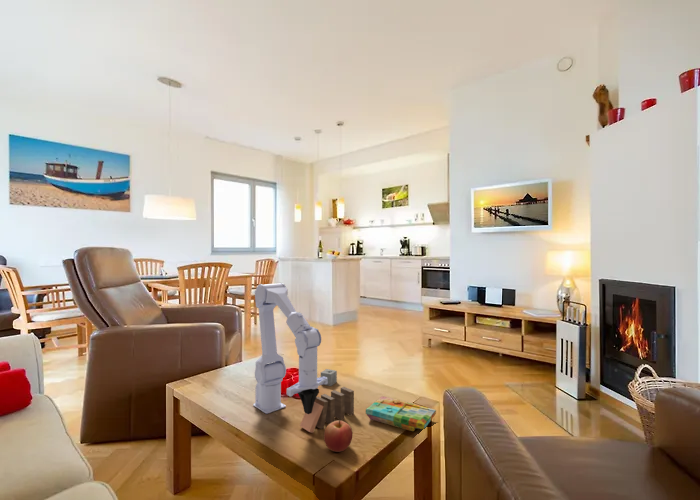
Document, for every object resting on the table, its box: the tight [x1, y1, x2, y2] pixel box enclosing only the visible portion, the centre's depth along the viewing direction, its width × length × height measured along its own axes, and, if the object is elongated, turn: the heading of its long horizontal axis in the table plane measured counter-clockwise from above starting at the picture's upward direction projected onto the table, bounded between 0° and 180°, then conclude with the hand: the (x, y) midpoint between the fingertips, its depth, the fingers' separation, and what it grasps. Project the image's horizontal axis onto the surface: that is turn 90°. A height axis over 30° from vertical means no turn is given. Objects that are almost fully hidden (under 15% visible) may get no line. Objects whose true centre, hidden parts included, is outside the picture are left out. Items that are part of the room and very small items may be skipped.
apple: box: [323, 419, 353, 453], centre depth 96 cm, size 8×8×8 cm
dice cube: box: [320, 368, 338, 387], centre depth 145 cm, size 5×5×5 cm
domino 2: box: [315, 396, 328, 429], centre depth 109 cm, size 2×5×8 cm, turn 44°
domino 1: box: [299, 402, 324, 434], centre depth 107 cm, size 2×5×8 cm
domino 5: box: [340, 386, 355, 417], centre depth 118 cm, size 2×5×8 cm, turn 44°
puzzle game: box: [365, 396, 437, 432], centre depth 113 cm, size 12×5×20 cm
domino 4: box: [330, 389, 345, 421], centre depth 115 cm, size 2×5×8 cm, turn 44°
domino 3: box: [320, 393, 336, 425], centre depth 112 cm, size 2×5×8 cm, turn 44°
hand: (308, 412), depth 106 cm, fingers closed
